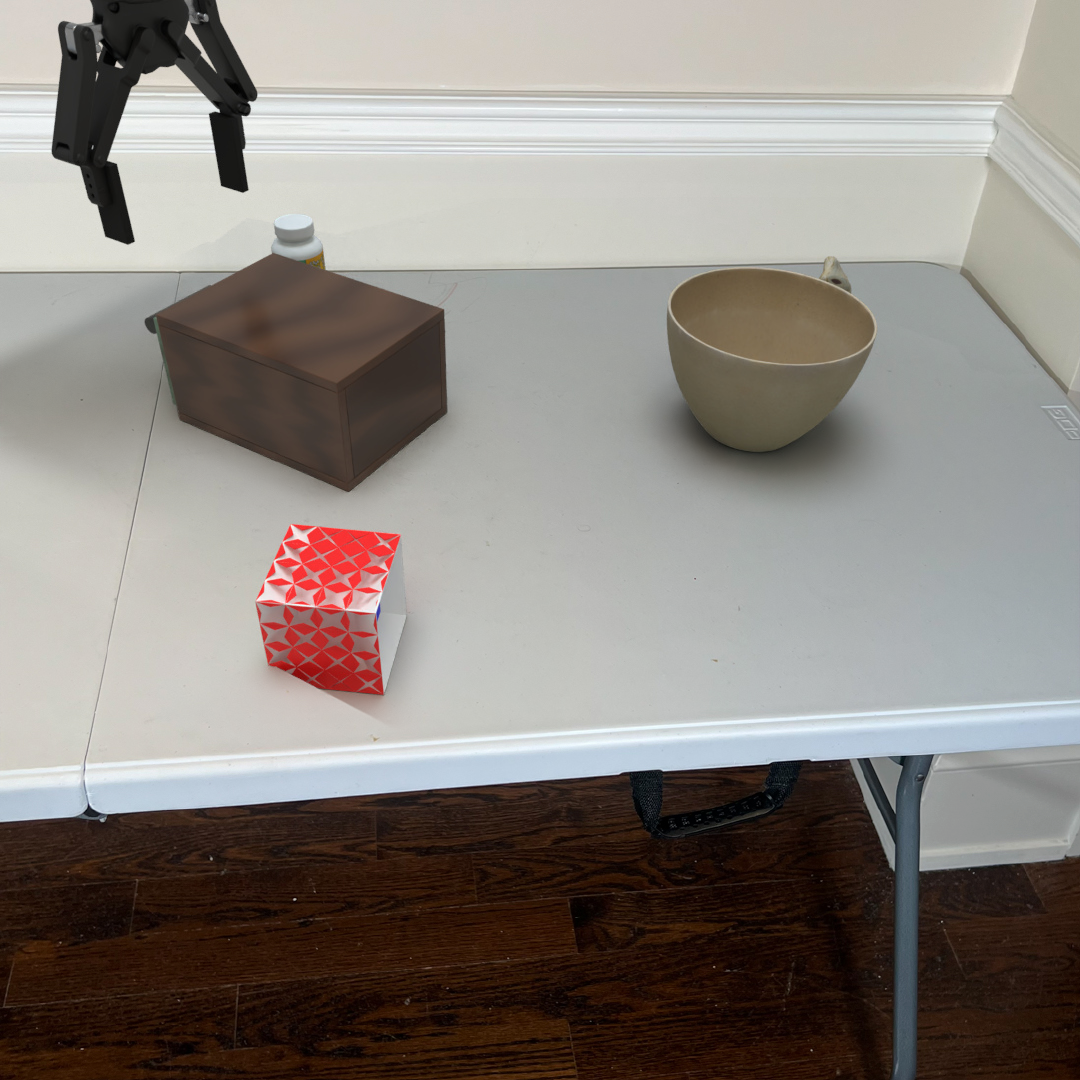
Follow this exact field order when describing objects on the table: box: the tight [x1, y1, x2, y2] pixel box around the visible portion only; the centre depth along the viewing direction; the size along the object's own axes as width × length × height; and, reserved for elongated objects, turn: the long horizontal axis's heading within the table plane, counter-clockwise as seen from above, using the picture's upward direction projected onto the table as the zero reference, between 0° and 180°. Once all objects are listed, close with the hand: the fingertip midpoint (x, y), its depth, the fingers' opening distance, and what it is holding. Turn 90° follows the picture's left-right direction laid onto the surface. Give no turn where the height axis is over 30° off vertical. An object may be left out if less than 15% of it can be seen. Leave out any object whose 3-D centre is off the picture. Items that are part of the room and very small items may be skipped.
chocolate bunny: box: [818, 255, 852, 294], centre depth 107 cm, size 6×8×10 cm
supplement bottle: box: [270, 213, 326, 270], centre depth 110 cm, size 5×5×10 cm
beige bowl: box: [666, 266, 878, 453], centre depth 94 cm, size 18×18×12 cm
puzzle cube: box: [254, 523, 408, 696], centre depth 72 cm, size 8×8×8 cm
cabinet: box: [156, 252, 448, 492], centre depth 93 cm, size 20×15×11 cm
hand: (180, 213), depth 90 cm, fingers open, 13 cm apart
